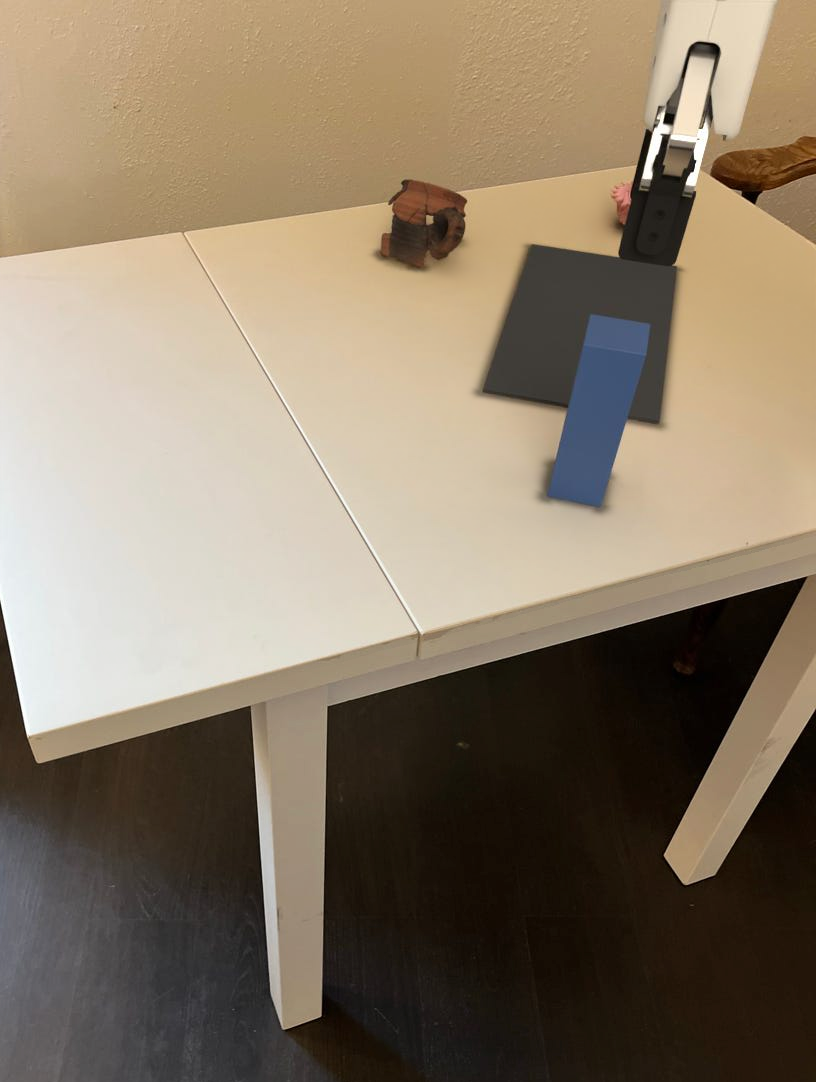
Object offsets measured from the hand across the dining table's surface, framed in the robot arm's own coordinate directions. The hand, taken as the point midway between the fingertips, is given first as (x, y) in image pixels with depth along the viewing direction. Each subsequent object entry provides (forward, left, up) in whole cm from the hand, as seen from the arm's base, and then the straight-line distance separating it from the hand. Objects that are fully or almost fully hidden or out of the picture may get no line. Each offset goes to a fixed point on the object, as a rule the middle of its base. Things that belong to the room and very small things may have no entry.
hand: (651, 228), depth 56 cm
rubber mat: (+2, -33, -25) cm, 41 cm away
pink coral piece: (-1, -57, -25) cm, 62 cm away
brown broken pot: (+21, -43, -25) cm, 54 cm away
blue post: (0, -7, -25) cm, 26 cm away
